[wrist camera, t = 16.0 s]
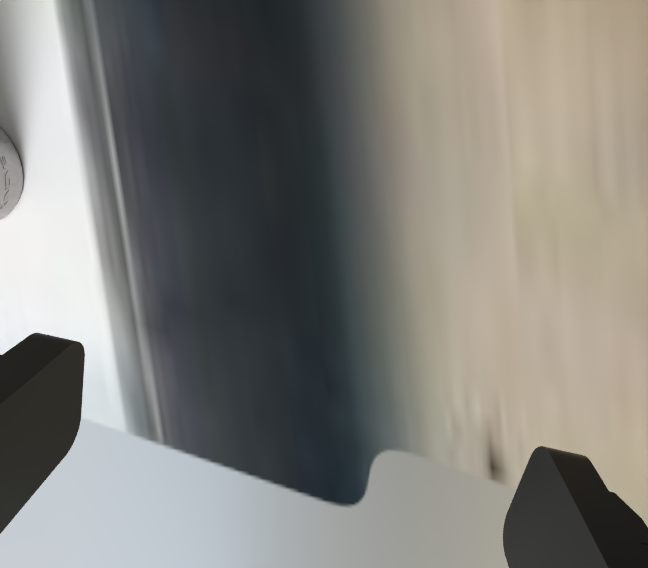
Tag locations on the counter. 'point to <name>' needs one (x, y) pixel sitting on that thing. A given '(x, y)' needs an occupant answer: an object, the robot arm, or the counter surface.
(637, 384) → the counter surface
